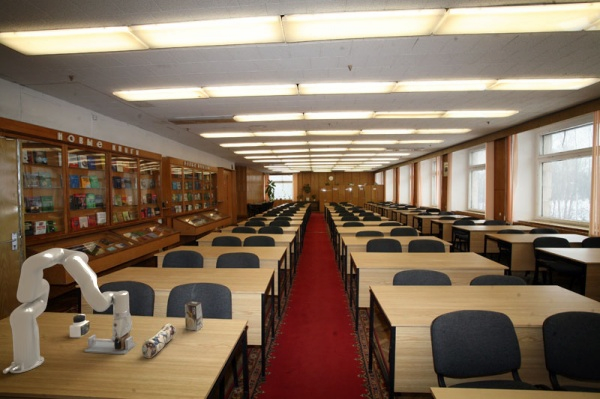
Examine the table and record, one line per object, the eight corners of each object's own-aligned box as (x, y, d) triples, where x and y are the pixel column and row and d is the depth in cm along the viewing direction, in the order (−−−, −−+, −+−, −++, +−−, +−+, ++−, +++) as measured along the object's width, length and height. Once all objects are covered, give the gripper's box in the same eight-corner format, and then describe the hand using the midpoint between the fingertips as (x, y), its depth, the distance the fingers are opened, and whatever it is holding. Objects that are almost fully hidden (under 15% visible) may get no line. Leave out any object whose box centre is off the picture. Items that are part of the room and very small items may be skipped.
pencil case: (156, 359, 150) (155, 341, 149) (140, 358, 150) (140, 340, 150) (176, 337, 172) (176, 321, 171) (163, 337, 172) (163, 321, 172)
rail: (125, 354, 154) (124, 342, 154) (84, 352, 156) (83, 340, 156) (136, 345, 163) (135, 334, 163) (97, 343, 165) (97, 332, 165)
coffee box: (203, 326, 185) (202, 302, 184) (197, 331, 179) (196, 306, 178) (191, 324, 188) (190, 300, 187) (184, 329, 182) (184, 304, 181)
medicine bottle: (81, 337, 172) (80, 318, 171) (69, 337, 172) (68, 318, 172) (90, 331, 179) (89, 313, 179) (78, 331, 179) (78, 312, 179)
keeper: (122, 349, 156) (122, 339, 156) (114, 349, 156) (114, 338, 156) (130, 343, 162) (130, 333, 162) (122, 343, 162) (121, 333, 162)
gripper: (116, 321, 149) (117, 354, 150) (138, 307, 167) (138, 337, 167) (103, 320, 150) (104, 354, 151) (126, 307, 167) (126, 337, 168)
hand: (122, 345), depth 159 cm, fingers closed on keeper, 6 cm apart
